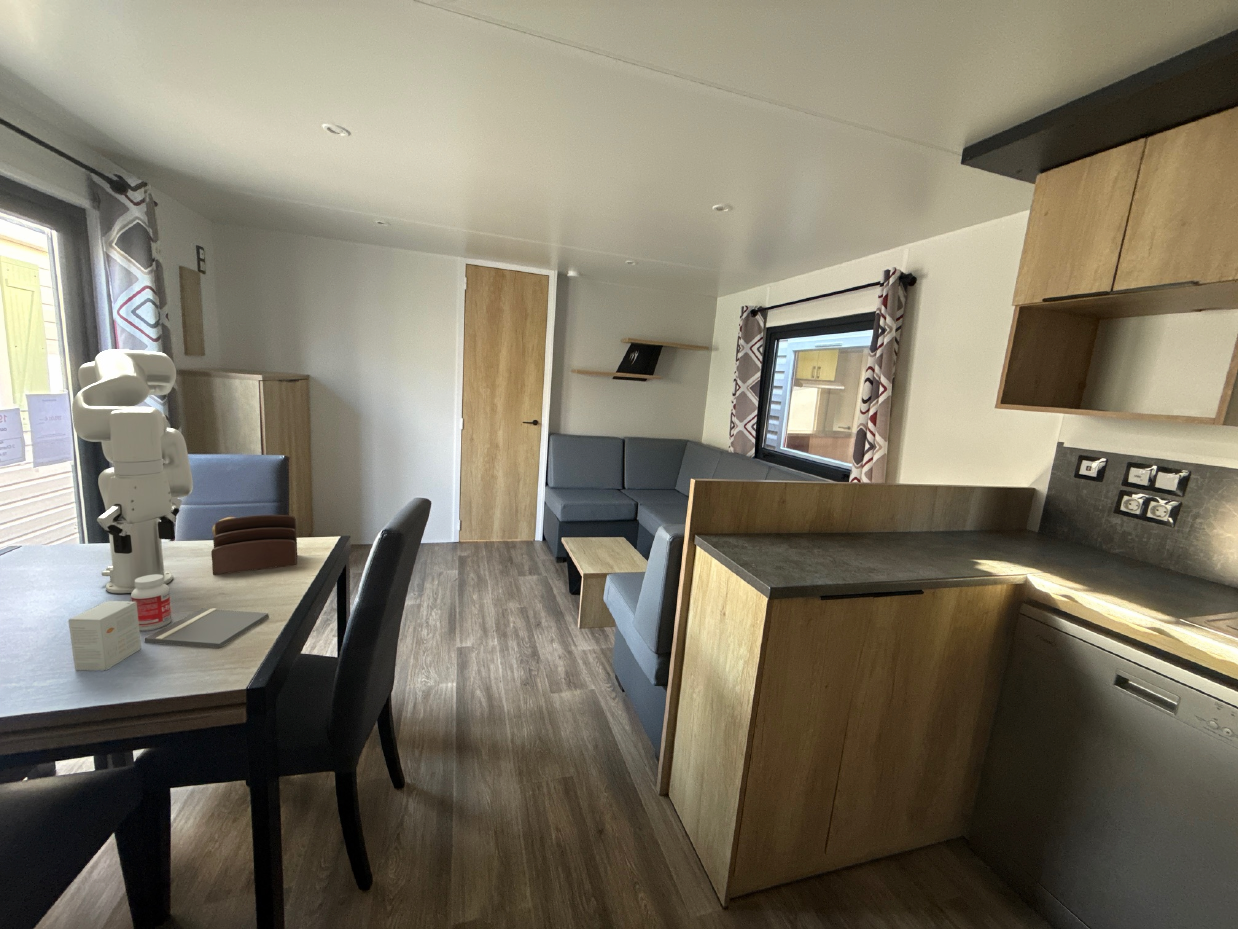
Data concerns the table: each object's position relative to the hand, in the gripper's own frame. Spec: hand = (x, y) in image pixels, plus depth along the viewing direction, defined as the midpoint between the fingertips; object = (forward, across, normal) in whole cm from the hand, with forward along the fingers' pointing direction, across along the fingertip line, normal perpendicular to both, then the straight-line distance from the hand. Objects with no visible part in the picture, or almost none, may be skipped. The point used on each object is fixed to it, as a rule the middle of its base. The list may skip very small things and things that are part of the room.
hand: (146, 545), depth 107 cm
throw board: (+19, 0, +12) cm, 22 cm away
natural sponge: (+18, -49, -22) cm, 57 cm away
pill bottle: (+19, 0, 0) cm, 19 cm away
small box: (+19, +13, +4) cm, 23 cm away
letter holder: (+19, -38, -5) cm, 42 cm away
